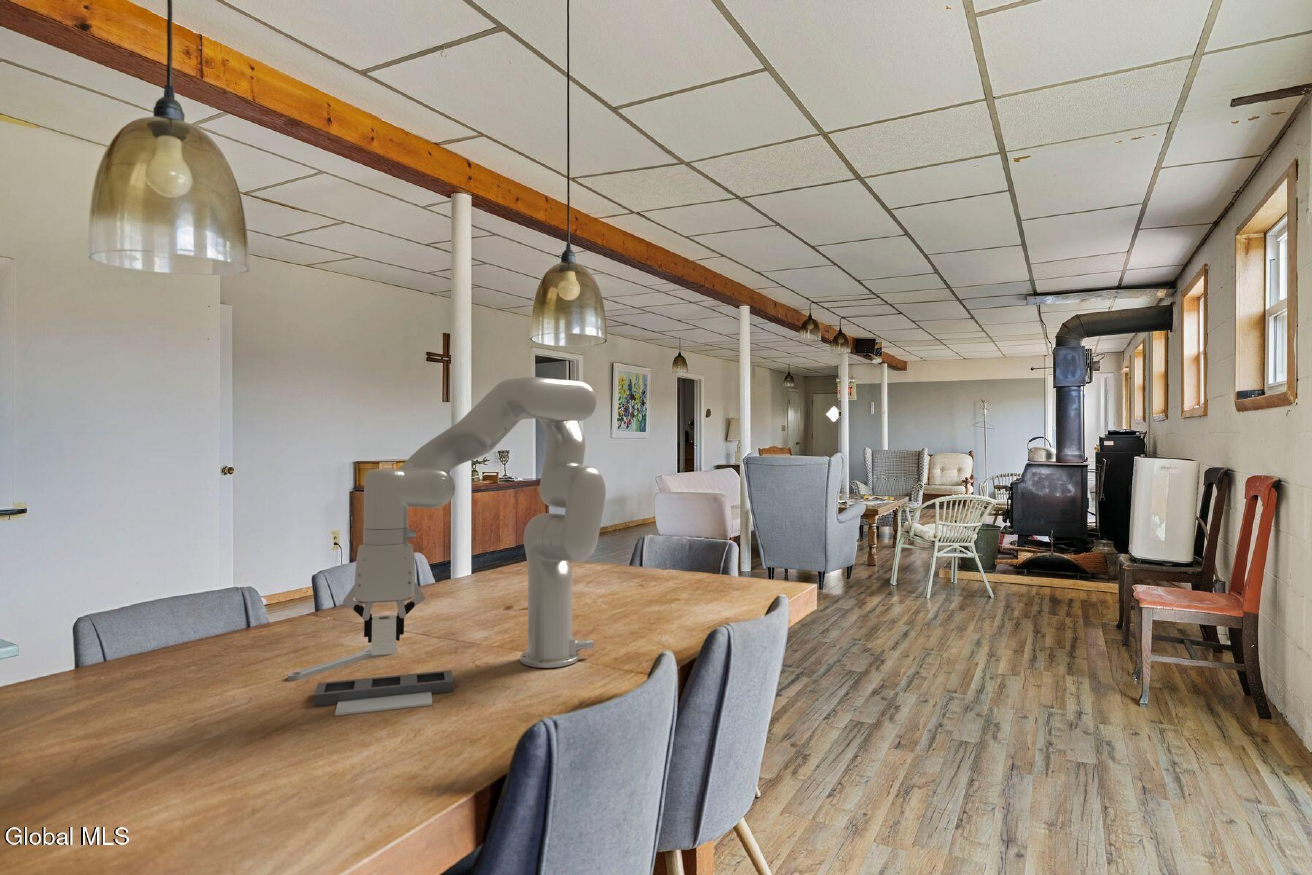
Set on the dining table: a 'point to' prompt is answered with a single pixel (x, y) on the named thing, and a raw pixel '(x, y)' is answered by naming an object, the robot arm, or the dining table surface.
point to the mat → (383, 703)
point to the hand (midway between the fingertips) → (384, 638)
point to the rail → (383, 687)
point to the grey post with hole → (383, 634)
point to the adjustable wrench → (334, 664)
